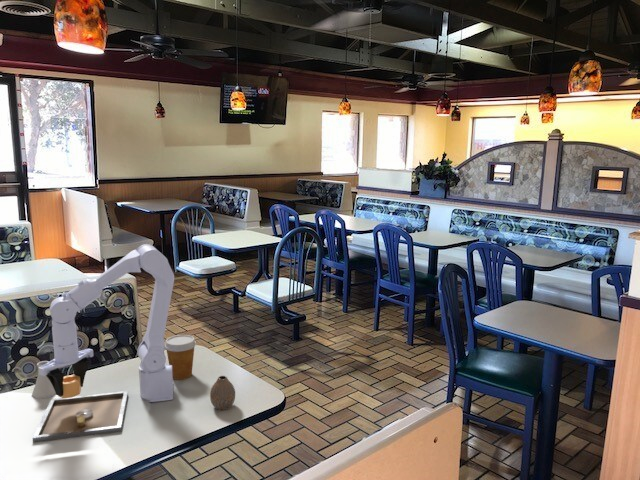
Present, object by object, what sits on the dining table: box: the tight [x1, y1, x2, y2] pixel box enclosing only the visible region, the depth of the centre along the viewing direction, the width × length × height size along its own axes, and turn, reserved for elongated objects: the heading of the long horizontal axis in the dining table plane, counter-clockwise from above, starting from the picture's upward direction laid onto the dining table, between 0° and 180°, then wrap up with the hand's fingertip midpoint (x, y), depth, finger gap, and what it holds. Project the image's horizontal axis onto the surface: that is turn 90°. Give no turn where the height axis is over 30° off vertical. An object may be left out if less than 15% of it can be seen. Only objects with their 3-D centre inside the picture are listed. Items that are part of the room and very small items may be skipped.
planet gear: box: [58, 374, 82, 398], centre depth 138 cm, size 5×5×4 cm
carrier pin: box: [77, 415, 85, 428], centre depth 132 cm, size 2×2×3 cm
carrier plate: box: [33, 397, 126, 444], centre depth 137 cm, size 20×20×1 cm
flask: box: [31, 360, 56, 399], centre depth 149 cm, size 7×7×10 cm
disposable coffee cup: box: [164, 334, 197, 381], centre depth 162 cm, size 10×10×12 cm
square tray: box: [32, 390, 129, 444], centre depth 137 cm, size 20×20×1 cm
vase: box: [209, 375, 236, 411], centre depth 144 cm, size 7×7×9 cm
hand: (69, 390), depth 138 cm, fingers closed on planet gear, 5 cm apart
